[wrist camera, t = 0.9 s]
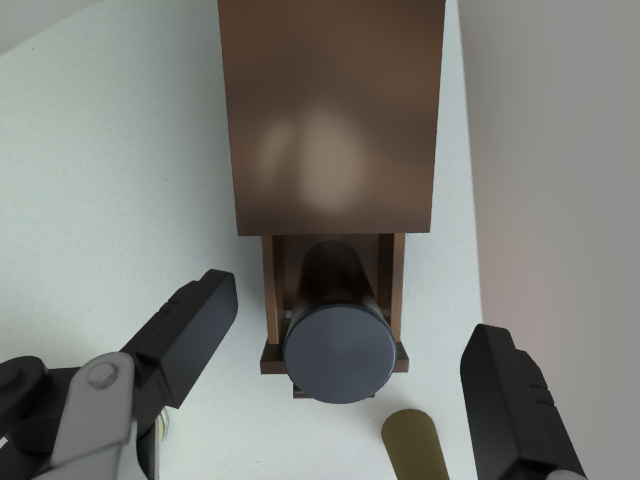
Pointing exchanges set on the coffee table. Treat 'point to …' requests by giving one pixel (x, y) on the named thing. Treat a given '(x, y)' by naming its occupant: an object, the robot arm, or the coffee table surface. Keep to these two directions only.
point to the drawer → (283, 276)
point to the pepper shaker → (414, 446)
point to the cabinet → (332, 113)
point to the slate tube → (337, 329)
